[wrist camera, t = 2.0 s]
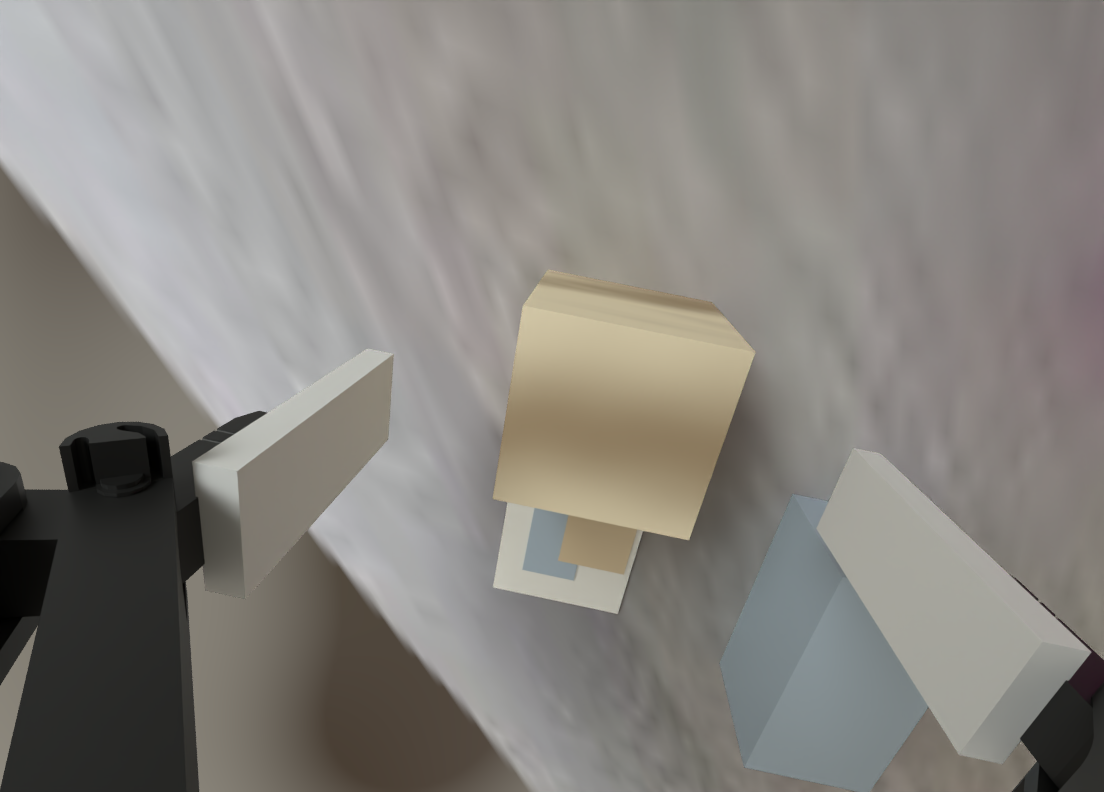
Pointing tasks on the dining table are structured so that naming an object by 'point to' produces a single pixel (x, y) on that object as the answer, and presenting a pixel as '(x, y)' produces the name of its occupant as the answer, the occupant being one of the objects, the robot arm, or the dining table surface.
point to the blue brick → (814, 668)
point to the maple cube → (618, 403)
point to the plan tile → (565, 557)
